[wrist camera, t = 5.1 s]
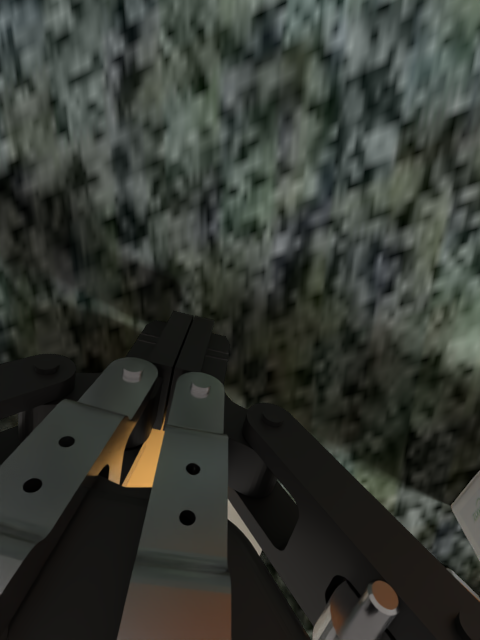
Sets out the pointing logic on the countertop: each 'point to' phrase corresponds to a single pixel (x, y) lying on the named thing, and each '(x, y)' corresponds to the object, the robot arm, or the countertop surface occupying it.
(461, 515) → the syrup box
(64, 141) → the countertop surface
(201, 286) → the countertop surface
